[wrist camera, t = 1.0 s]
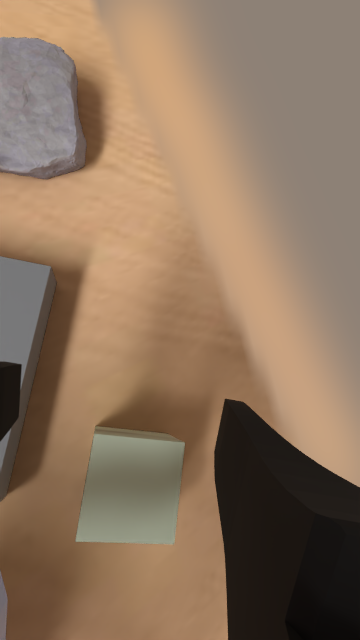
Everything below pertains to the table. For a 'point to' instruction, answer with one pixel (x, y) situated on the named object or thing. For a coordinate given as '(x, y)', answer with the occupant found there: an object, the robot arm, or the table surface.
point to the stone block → (38, 110)
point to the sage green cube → (131, 487)
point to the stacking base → (22, 338)
